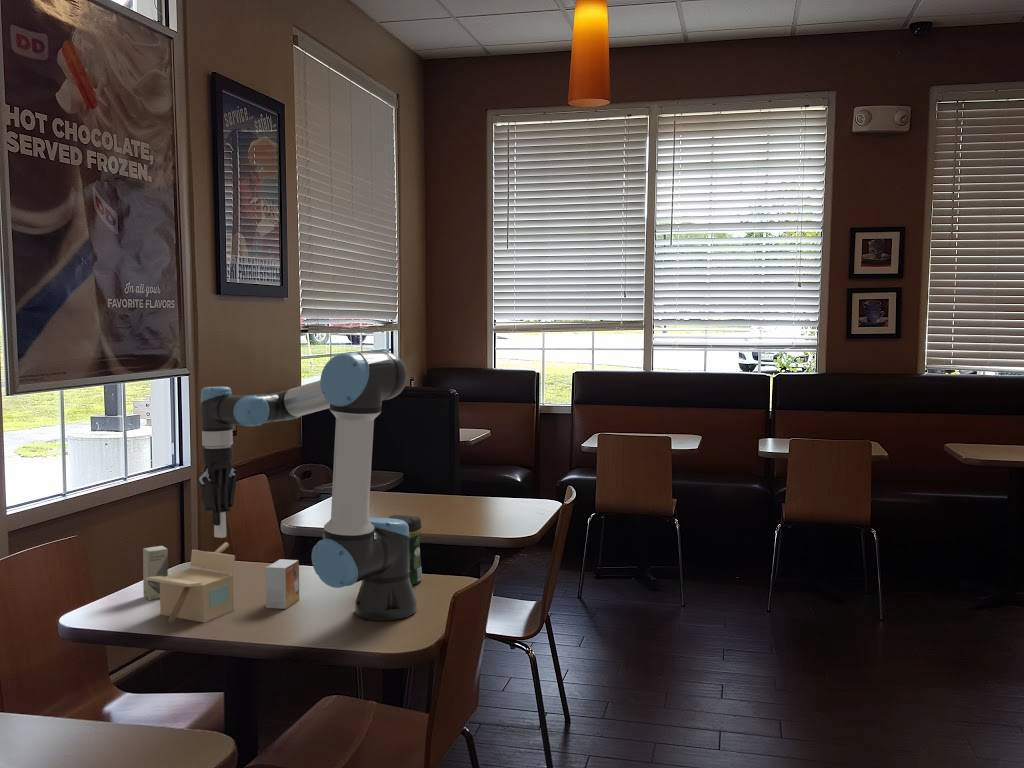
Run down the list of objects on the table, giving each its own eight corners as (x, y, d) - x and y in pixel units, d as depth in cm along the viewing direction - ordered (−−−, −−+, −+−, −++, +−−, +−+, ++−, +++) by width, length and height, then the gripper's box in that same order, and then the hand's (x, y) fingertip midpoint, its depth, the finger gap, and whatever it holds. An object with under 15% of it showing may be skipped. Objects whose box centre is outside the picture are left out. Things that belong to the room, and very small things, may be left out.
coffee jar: (381, 584, 238) (380, 517, 237) (394, 576, 246) (394, 511, 245) (413, 587, 235) (413, 519, 234) (426, 579, 243) (425, 513, 242)
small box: (286, 609, 217) (285, 568, 217) (265, 608, 218) (264, 567, 218) (300, 599, 225) (299, 559, 224) (280, 598, 226) (279, 558, 226)
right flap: (231, 573, 216) (256, 569, 225) (233, 549, 217) (258, 545, 225) (190, 566, 222) (216, 563, 230) (192, 543, 222) (218, 540, 231)
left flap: (183, 584, 202) (179, 625, 201) (202, 582, 207) (198, 622, 206) (140, 577, 207) (136, 617, 207) (159, 575, 213) (155, 614, 212)
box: (148, 600, 224) (147, 551, 223) (143, 596, 228) (141, 548, 227) (169, 596, 228) (168, 548, 227) (163, 592, 231) (162, 544, 230)
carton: (234, 610, 217) (233, 574, 216) (204, 622, 208) (203, 585, 207) (191, 602, 223) (190, 568, 222) (160, 614, 214) (159, 578, 213)
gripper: (224, 442, 232) (227, 530, 234) (187, 449, 220) (190, 541, 222) (246, 444, 229) (249, 532, 231) (210, 450, 217) (213, 543, 219)
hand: (220, 536), depth 226 cm, fingers closed
